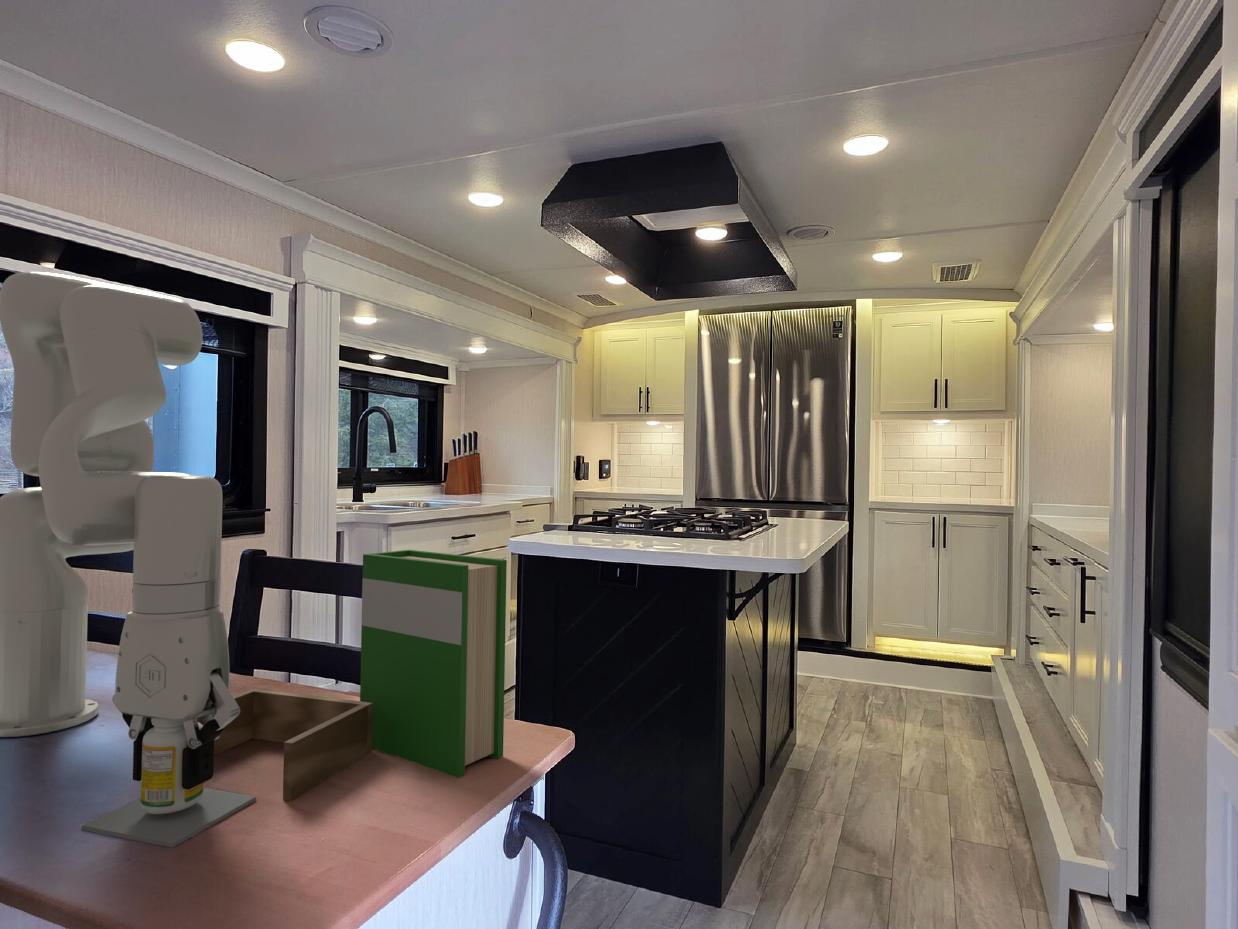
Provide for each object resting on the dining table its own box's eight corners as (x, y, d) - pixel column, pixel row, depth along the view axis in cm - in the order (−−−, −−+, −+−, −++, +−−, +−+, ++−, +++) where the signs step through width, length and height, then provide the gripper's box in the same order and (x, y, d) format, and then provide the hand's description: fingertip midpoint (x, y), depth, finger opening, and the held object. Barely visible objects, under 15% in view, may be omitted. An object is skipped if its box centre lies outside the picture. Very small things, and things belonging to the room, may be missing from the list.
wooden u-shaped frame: (155, 778, 80) (157, 724, 80) (251, 734, 94) (253, 688, 94) (290, 801, 75) (292, 743, 75) (371, 751, 89) (372, 702, 89)
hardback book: (503, 756, 88) (506, 560, 88) (458, 777, 82) (462, 566, 82) (405, 727, 97) (409, 549, 98) (359, 743, 91) (363, 554, 92)
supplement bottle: (146, 821, 68) (148, 719, 68) (135, 802, 72) (137, 705, 72) (210, 804, 72) (212, 707, 72) (196, 786, 76) (198, 695, 76)
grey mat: (81, 829, 69) (81, 825, 69) (172, 786, 78) (172, 782, 78) (172, 848, 66) (172, 843, 66) (255, 800, 75) (256, 796, 75)
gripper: (75, 598, 71) (71, 783, 71) (216, 610, 66) (211, 808, 66) (144, 587, 78) (140, 755, 78) (275, 597, 73) (271, 776, 73)
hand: (173, 777), depth 72 cm, fingers closed on supplement bottle, 5 cm apart
